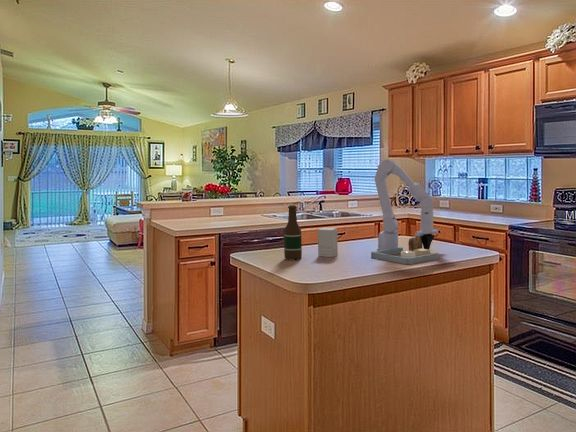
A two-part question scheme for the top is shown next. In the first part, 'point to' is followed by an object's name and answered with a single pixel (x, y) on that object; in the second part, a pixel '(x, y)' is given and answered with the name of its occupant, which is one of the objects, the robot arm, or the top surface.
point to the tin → (415, 243)
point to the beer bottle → (292, 236)
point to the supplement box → (327, 242)
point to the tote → (389, 257)
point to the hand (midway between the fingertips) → (426, 250)
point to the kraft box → (421, 252)
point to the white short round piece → (407, 254)
